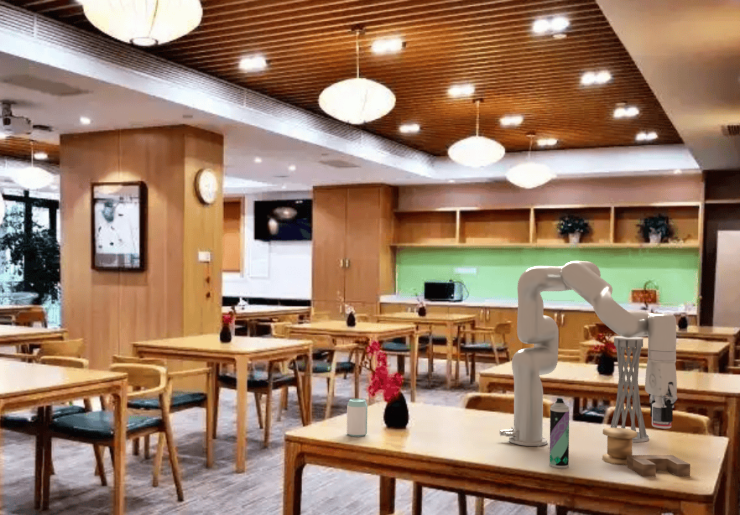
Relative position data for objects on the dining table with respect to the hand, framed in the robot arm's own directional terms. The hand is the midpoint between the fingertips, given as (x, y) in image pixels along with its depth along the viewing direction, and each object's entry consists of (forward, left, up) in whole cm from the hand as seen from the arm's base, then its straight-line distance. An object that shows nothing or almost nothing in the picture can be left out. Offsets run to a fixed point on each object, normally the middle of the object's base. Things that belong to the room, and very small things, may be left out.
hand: (661, 418), depth 205 cm
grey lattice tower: (+11, +43, -16) cm, 47 cm away
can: (-84, +49, -16) cm, 99 cm away
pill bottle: (0, 0, -3) cm, 3 cm away
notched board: (0, +1, -16) cm, 16 cm away
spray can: (-27, +8, -16) cm, 33 cm away
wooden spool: (-6, +13, -16) cm, 21 cm away
